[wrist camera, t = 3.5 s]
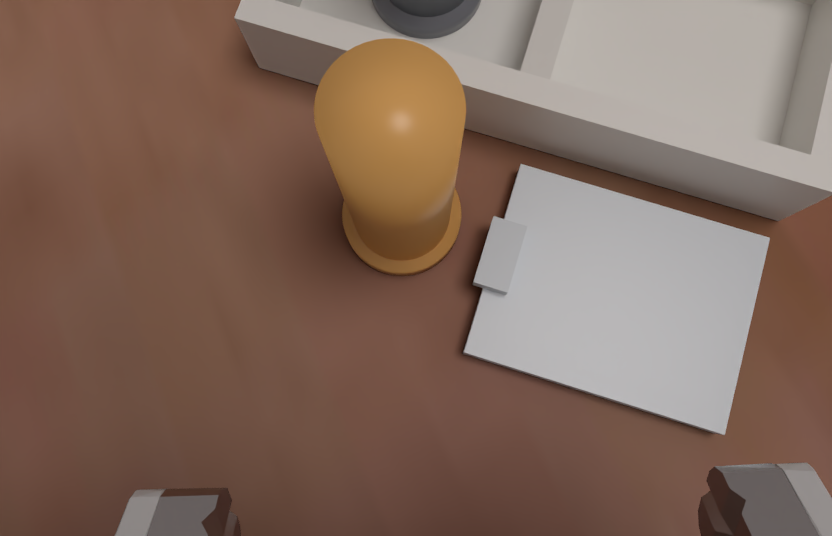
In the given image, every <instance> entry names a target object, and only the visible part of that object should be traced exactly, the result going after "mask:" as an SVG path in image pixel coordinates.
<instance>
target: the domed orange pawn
mask: <svg viewBox="0 0 832 536" xmlns="http://www.w3.org/2000/svg"><path fill="white" fill-rule="evenodd" d="M465 118H466V100H465V94H464V91H463V87H462V84H461V82H460V80H459V78H458V76H457V74H456V73H455V71H454V70H453V68H452V67H451V66H450V65H449V64H448V62H447V61H446V60H445V59H444V58H442V57H441V56H440V55H439V54H438V53H436V52H435V51H433V50H432V49H430V48H428V47H426V46H424V45H422V44H419V43H416V42H414V41H409V40H405V39H397V38H384V39H377V40H372V41H368V42H365V43H362V44H360V45H357V46H355V47H353V48H352V49H350V50H348V51H347V52H345V53H344V54H343V55H341V56H340V57H339V58H338V59H337V60H336V61H335V62H333V64H332V65H331V66H330V67H329V68H328V70H327V71H326V73H325V74H324V76H323V78H322V79H321V82H320V84H319V86H318V89H317V92H316V96H315V102H314V119H315V125H316V129H317V132H318V135H319V138H320V140H321V143H322V145H323V148H324V150H325V153H326V155H327V158H328V160H329V163H330V165H331V168H332V170H333V173H334V175H335V178H336V180H337V183H338V185H339V188H340V190H341V193H342V195H343V198H344V203H343V209H342V220H343V227H344V230H345V234H346V236H347V238H348V241H349V243H350V245H351V246H352V248H353V250H354V251H355V253H356V254H357V255H358V256H359V258H360V259H361V260H363V261H364V262H365V263H366V264H367V265H369V266H370V267H372V268H374V269H375V270H377V271H380V272H382V273H385V274H390V275H396V276H409V275H415V274H418V273H422V272H424V271H427V270H429V269H431V268H432V267H434V266H436V265H437V264H438V263H439V262H441V261H442V260H443V259H444V258H445V257H446V256H447V254H448V253H449V252H450V250H451V249H452V247H453V245H454V244H455V241H456V239H457V236H458V232H459V228H460V223H461V205H460V200H459V197H458V194H457V191H456V189H455V182H456V176H457V170H458V163H459V157H460V151H461V145H462V138H463V132H464V126H465Z"/></svg>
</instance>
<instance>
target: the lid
mask: <svg viewBox="0 0 832 536" xmlns="http://www.w3.org/2000/svg"><path fill="white" fill-rule="evenodd" d="M769 240H770V238H769V237H765V236H762V235H758V234H755V233H752V232H748V231H745V230H742V229H738V228H735V227H732V226H728V225H725V224H721V223H718V222H715V221H711V220H708V219H705V218H701V217H698V216H695V215H691V214H688V213H684V212H681V211H678V210H674V209H671V208H668V207H664V206H661V205H658V204H654V203H651V202H647V201H644V200H641V199H637V198H634V197H631V196H627V195H624V194H621V193H617V192H614V191H610V190H607V189H604V188H600V187H597V186H594V185H590V184H587V183H584V182H580V181H577V180H573V179H570V178H567V177H563V176H560V175H557V174H553V173H550V172H547V171H543V170H540V169H536V168H533V167H530V166H526V165H523V164H521V165H520V167H519V170H518V172H517V176H516V179H515V182H514V185H513V189H512V192H511V195H510V199H509V202H508V205H507V209H506V212H505V215H504V218H503V219H502V218H499V217H495V216H493V219H492V222H491V225H490V228H489V231H488V235H487V238H486V241H485V244H484V248H483V251H482V254H481V258H480V261H479V264H478V267H477V271H476V274H475V277H474V280H473V284H472V285H474V286H478V287H481V288H482V291H481V294H480V298H479V301H478V304H477V308H476V311H475V314H474V317H473V321H472V324H471V327H470V331H469V334H468V337H467V341H466V344H465V347H464V350H463V354H465V355H468V356H471V357H475V358H478V359H481V360H484V361H487V362H490V363H493V364H497V365H500V366H503V367H506V368H509V369H512V370H516V371H519V372H522V373H525V374H528V375H531V376H534V377H538V378H541V379H544V380H547V381H550V382H553V383H557V384H560V385H563V386H566V387H569V388H572V389H575V390H579V391H582V392H585V393H588V394H591V395H594V396H598V397H601V398H604V399H607V400H610V401H613V402H616V403H620V404H623V405H626V406H629V407H632V408H635V409H639V410H642V411H645V412H648V413H651V414H654V415H657V416H661V417H664V418H667V419H670V420H673V421H676V422H680V423H683V424H686V425H689V426H692V427H695V428H698V429H702V430H705V431H708V432H711V433H714V434H721V435H725V431H726V427H727V423H728V418H729V414H730V409H731V405H732V401H733V396H734V392H735V388H736V383H737V379H738V375H739V370H740V366H741V362H742V357H743V353H744V349H745V344H746V340H747V336H748V331H749V327H750V323H751V318H752V314H753V309H754V305H755V301H756V296H757V292H758V288H759V283H760V279H761V275H762V270H763V266H764V262H765V257H766V253H767V249H768V244H769Z"/></svg>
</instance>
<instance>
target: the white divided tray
mask: <svg viewBox="0 0 832 536" xmlns="http://www.w3.org/2000/svg"><path fill="white" fill-rule="evenodd" d="M234 18H235V20H236V22H237V24H238V26H239V28H240V30H241V32H242V34H243V36H244V38H245V40H246V42H247V44H248V47H249V49H250V51H251V53H252V55H253V57H254V59H255V61H256V63H257V65H258V67H259V68H262V69H265V70H268V71H272V72H275V73H279V74H282V75H285V76H289V77H292V78H295V79H299V80H302V81H306V82H309V83H312V84H316V85H319V84H320V82H321V79H322V78H323V76H324V74H325V73H326V71H327V70H328V68H329V67H330V66H331V65H332V64H333V62H335V61H336V60H337V59H338V58H339V57H340V56H341V55H343V54H344V53H345V52H347V51H348V50H350V49H352V48H353V47H355V46H357V45H360V44H362V43H365V42H368V41H372V40H377V39H384V38H397V39H405V40H409V41H414V42H416V43H419V44H422V45H424V46H426V47H428V48H430V49H432V50H433V51H435V52H436V53H438V54H439V55H440V56H441V57H442V58H444V59H445V60H446V61H447V62H448V64H449V65H450V66H451V67H452V68H453V70H454V71H455V73H456V74H457V76H458V78H459V80H460V82H461V84H462V87H463V91H464V94H465V100H466V118H465V126H464V128H465V129H468V130H471V131H475V132H478V133H482V134H485V135H488V136H492V137H495V138H498V139H502V140H505V141H509V142H512V143H515V144H519V145H522V146H526V147H529V148H532V149H536V150H539V151H542V152H546V153H549V154H553V155H556V156H559V157H563V158H566V159H570V160H573V161H576V162H580V163H583V164H586V165H590V166H593V167H597V168H600V169H603V170H607V171H610V172H614V173H617V174H620V175H624V176H627V177H630V178H634V179H637V180H641V181H644V182H647V183H651V184H654V185H658V186H661V187H664V188H668V189H671V190H674V191H678V192H681V193H685V194H688V195H691V196H695V197H698V198H702V199H705V200H708V201H712V202H715V203H718V204H722V205H725V206H729V207H732V208H735V209H739V210H742V211H746V212H749V213H752V214H756V215H759V216H762V217H766V218H769V219H773V220H776V221H780V220H782V219H784V218H786V217H788V216H790V215H792V214H794V213H796V212H798V211H801V210H803V209H805V208H807V207H809V206H811V205H813V204H815V203H817V202H819V201H821V200H823V199H825V198H827V197H829V196H831V195H832V0H481V3H480V5H479V8H478V10H477V11H476V13H475V15H474V16H473V17H472V19H471V20H470V21H469V22H468V23H467V24H466V25H465V26H463V27H462V28H461V29H459V30H457V31H456V32H454V33H452V34H449V35H447V36H443V37H440V38H433V39H420V38H414V37H409V36H406V35H404V34H401V33H399V32H397V31H396V30H394V29H393V28H391V27H390V26H389V25H387V24H386V23H385V22H384V21H383V20H382V18H381V17H380V16H379V14H378V13H377V11H376V9H375V7H374V5H373V2H372V0H241V2H240V5H239V7H238V10H237V12H236V15H235V17H234Z"/></svg>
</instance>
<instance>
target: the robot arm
mask: <svg viewBox="0 0 832 536" xmlns="http://www.w3.org/2000/svg"><path fill="white" fill-rule="evenodd" d="M706 481H707V483H708V486H709V488H710V491H709V492H708V493H707V494H705V495H704V496H703V497H701V501H700V505H699V509H698V520H699V529H700V533H701V536H832V498H831V496H830V494H829V493H828V491H827V490H826V488H825V486H824V485H823V483H822V481H821V480H820V478H819V476H818V475H817V473H816V472H815V470H814V468H813V467H811V466H810V465H809V464H808V463H787V464H772V463H769V464H751V465H734V466H716V467H713V468H712V469H711V470H710V471H709V474H708V477H707V480H706ZM231 502H232V499H231V496H230V493H229V491H228V488H188V489H146V490H136V491H135V492H134V494H133V495H132V496H131V497H130V499H129V501H128V503H127V506H126V508H125V511H124V513H123V516H122V518H121V521H120V523H119V526H118V528H117V531H116V534H115V536H241V530H240V524H239V520H238V517H237V516H236V515H235V514H233V513H232V512H230V511H229V510H230V506H231Z"/></svg>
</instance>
